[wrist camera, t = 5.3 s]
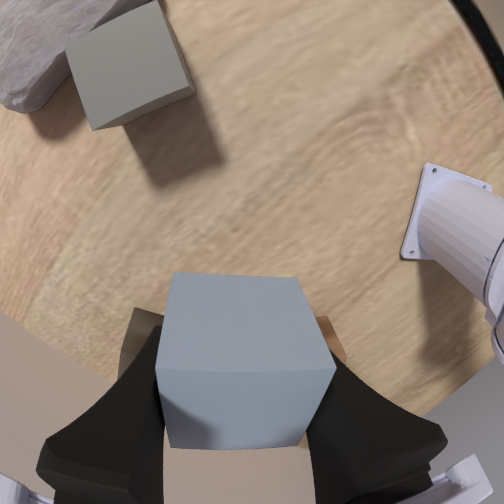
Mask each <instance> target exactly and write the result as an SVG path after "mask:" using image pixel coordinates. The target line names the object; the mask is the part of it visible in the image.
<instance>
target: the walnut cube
mask: <svg viewBox="0 0 504 504" xmlns="http://www.w3.org/2000/svg"><path fill="white" fill-rule="evenodd" d="M315 319H316V321H317V323H318V326H319V328H320V330H321V332H322V335H323V337H324V339H325V342H326V344H327V346H328V348H329V349H330V350H331V351H332V352H333V353H334V354H335V355H336V356H337V357H338V358H339V360H340V361H341V362H342V363H343V364H344V365H345V361H346V357H347V356H346V353H345V351H344V349H343V347H342V345H341V343H340V341H339V339H338V337H337V335H336V333H335V331H334V329H333V327H332V325H331V323H330V321H329V319H328V317H327V316H322V317H315Z"/></svg>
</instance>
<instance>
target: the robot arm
mask: <svg viewBox="0 0 504 504" xmlns="http://www.w3.org/2000/svg"><path fill="white" fill-rule="evenodd" d="M433 169H434V172H433ZM411 251H412V252H411ZM410 252H411V253H410ZM400 253H401V256H402V257H403V258H408V259H424V260H435V261H436V262H438V263H439V264H440V265H441V266H442V267H443V268H445V269H446V270H447V271H448V272H449V273H450V274H451V275H453V276H454V277H455V278H456V279H457V280H458V281H459V282H460V283H461V284H462V285H464V286H465V287H466V288H467V289H468V290H469V291H470V292H471V293H472V294H473V295H474V296H475V297H476V298H477V299H478V300H479V301H481V302H482V303H483V304H484V305H485V306H486V307H487V311H486V315H485V319H486V320H487V321H488V322H489V323H490V324H491V325H492V326H493V329H492V333H491V344H492V348H493V351H494V353H495V355H496V357H497V358H498V360H499V361H500V363H501V364H502V365H503V366H504V198H502V197H500V196H498V195H495V194H493V193H492V186H491V185H490V184H487V183H485V182H482V181H480V180H477V179H475V178H472V177H469V176H466V175H464V174H461V173H458V172H455V171H452V170H449V169H447V168H444V167H441V166H437V165H434V164H431V163H426V164H425V165H424V167H423V171H422V176H421V180H420V184H419V188H418V192H417V196H416V200H415V204H414V208H413V212H412V215H411V219H410V222H409V226H408V229H407V233H406V236H405V239H404V242H403V245H402V249H401V252H400ZM409 253H410V254H409ZM162 327H163V326H159V325H156V326H154V327H153V329H152V331H151V333H150V335H149V336H148V338H147V340H146V342H145V343H144V345H143V346H142V348H141V349H140V351H139V352H138V354H137V355H136V357H135V358H134V360H133V361H132V362H131V364H130V365H129V366H128V368H127V369H126V370H125V372H124V373H123V374H122V375H121V377H120V378H119V379H118V380H117V381H116V383H115V384H114V385H113V386H112V387H111V388H110V390H108V392H107V393H105V395H104V396H103V397H101V398H100V399H99V400H98V401H97V402H96V403H95V404H94V405H93V406H92V407H91V408H90V409H89V410H87V411H86V412H85V413H84V414H82V415H81V416H80V417H78V418H77V419H76V420H74V421H73V422H72V423H71V424H69V425H68V426H66V427H65V428H63V429H62V430H60V431H58V432H57V433H55V434H54V435H52V436H50V437H49V438H47V439H46V441H45V443H44V445H43V447H42V450H41V452H40V456H39V460H38V464H37V467H36V472H37V474H38V476H39V477H40V478H41V479H43V480H44V481H45V482H46V483H48V484H49V485H50V486H51V487H52V488H54V489H55V490H56V491H55V497H54V499H51V498H49V497H46V496H43V495H41V494H38V493H36V492H33V491H31V490H29V489H28V488H27V487H26V486H25V485H23V484H22V483H20V482H18V481H16V480H14V479H12V478H10V477H8V476H6V475H4V474H2V473H0V504H164V498H163V443H164V430H165V420H164V415H163V410H162V405H161V400H160V394H159V388H158V382H157V376H156V370H155V366H156V360H157V354H158V348H159V343H160V337H161V332H162ZM328 349H329V348H328ZM329 351H330V353H331V356H332V358H333V360H334V362H335V365H336V367H337V368H336V371H335V373H334V375H333V377H332V379H331V381H330V383H329V386H328V388H327V390H326V392H325V394H324V396H323V398H322V400H321V402H320V404H319V406H318V408H317V410H316V412H315V414H314V416H313V418H312V420H311V422H310V423H309V425H308V427H307V429H306V434H307V438H308V444H309V450H310V456H311V462H312V469H313V477H314V486H315V497H316V504H477V503H479V502H480V501H482V500H483V499H484V498H486V497H487V496H488V495H490V494H491V493H492V492H493V489H492V487H491V485H490V483H489V481H488V479H487V477H486V475H485V473H484V471H483V469H482V467H481V465H480V463H479V462H478V460H477V458H476V456H475V454H471V455H469V456H467V457H466V458H464V459H462V460H460V461H458V462H457V463H455V464H454V465H452V466H451V467H450V468H448V469H447V470H446V472H444V473H442V474H440V475H438V476H436V477H434V478H432V479H431V478H430V476H429V474H428V471H429V470H431V467H430V465H429V462H430V461H431V460H432V459H433V458H434V457H436V456H437V455H438V454H439V453H440V452H441V451H442V450H443V449H444V448H445V447H446V445H447V443H448V440H447V438H446V436H445V434H444V432H443V431H442V429H441V427H440V426H439V425H438V424H436V423H433V422H431V421H428V420H425V419H423V418H421V417H418V416H416V415H414V414H412V413H410V412H408V411H406V410H404V409H402V408H401V407H399V406H397V405H395V404H394V403H392V402H391V401H389V400H387V399H386V398H384V397H383V396H381V395H380V394H378V393H377V392H376V391H374V390H373V389H372V388H370V387H369V386H368V385H367V384H365V383H364V382H363V381H362V380H361V379H359V378H358V377H357V376H356V375H355V374H354V373H353V372H352V371H351V370H350V369H349V368H347V367H346V366H345V365H344V364H343V363H342V362H341V361H340V360H339V358H338V357H337V356H336V355H335V354H334V353H333V352H332V351H331V350H330V349H329Z"/></svg>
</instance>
